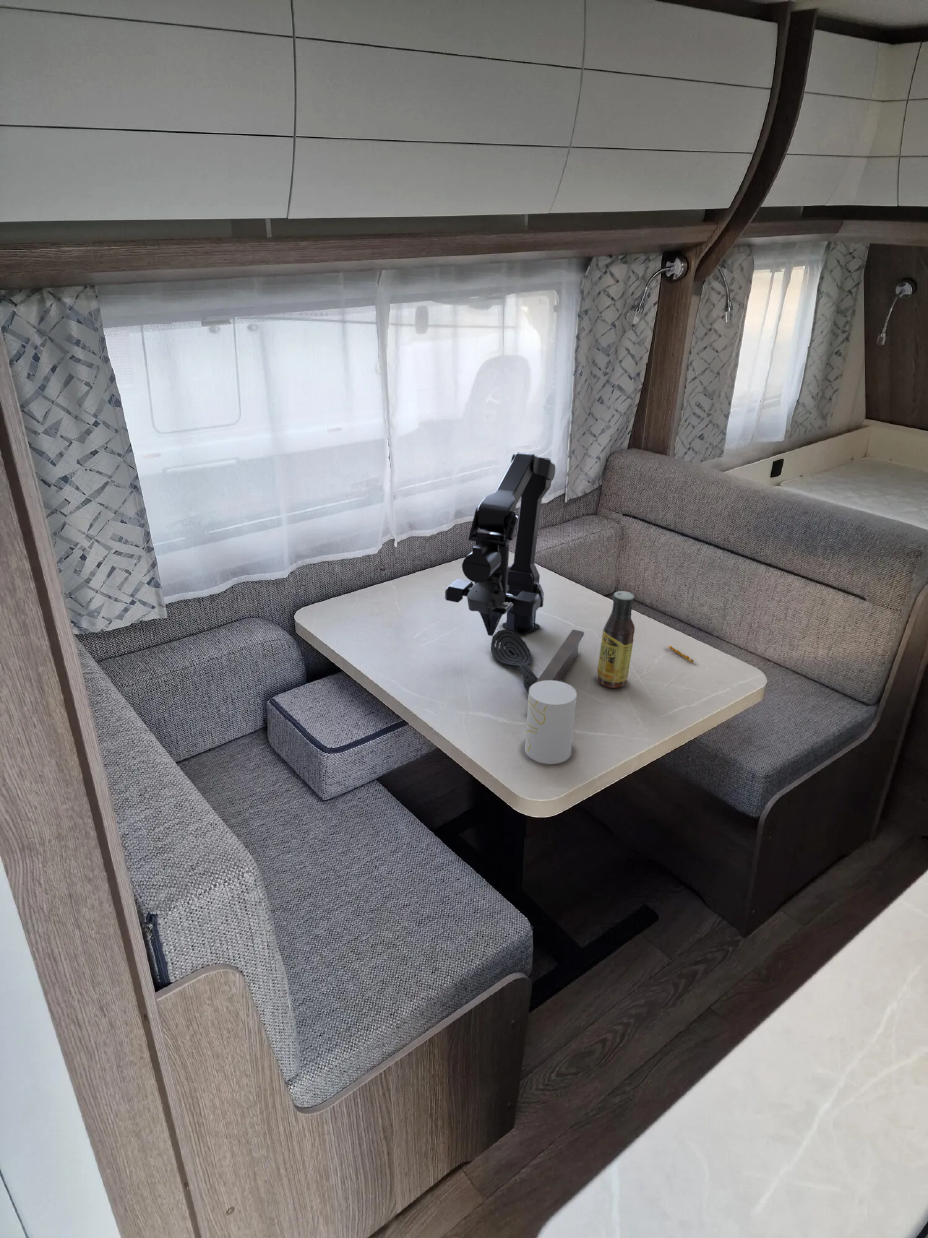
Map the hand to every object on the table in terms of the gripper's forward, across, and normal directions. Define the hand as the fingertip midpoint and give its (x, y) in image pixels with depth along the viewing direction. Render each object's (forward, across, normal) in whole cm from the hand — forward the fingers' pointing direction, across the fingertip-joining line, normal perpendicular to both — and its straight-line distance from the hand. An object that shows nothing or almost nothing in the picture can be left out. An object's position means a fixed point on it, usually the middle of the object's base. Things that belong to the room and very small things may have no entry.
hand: (490, 635), depth 168 cm
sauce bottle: (+8, +25, +5) cm, 27 cm away
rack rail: (+8, +14, 0) cm, 16 cm away
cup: (+8, +20, -24) cm, 32 cm away
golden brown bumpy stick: (+8, +36, +23) cm, 43 cm away
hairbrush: (+8, +6, +2) cm, 10 cm away
